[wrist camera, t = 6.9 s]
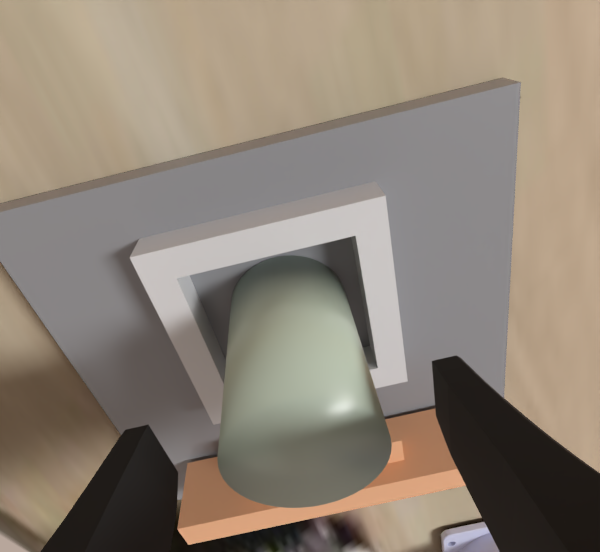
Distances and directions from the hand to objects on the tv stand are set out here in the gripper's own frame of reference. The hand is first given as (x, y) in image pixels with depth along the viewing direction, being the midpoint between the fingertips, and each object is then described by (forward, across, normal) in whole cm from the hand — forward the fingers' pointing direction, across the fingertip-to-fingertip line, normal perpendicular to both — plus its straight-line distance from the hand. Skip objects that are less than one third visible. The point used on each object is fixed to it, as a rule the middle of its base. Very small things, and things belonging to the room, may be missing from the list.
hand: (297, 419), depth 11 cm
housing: (+6, 0, +2) cm, 6 cm away
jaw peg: (+5, 0, 0) cm, 5 cm away
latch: (+5, 0, +7) cm, 8 cm away
